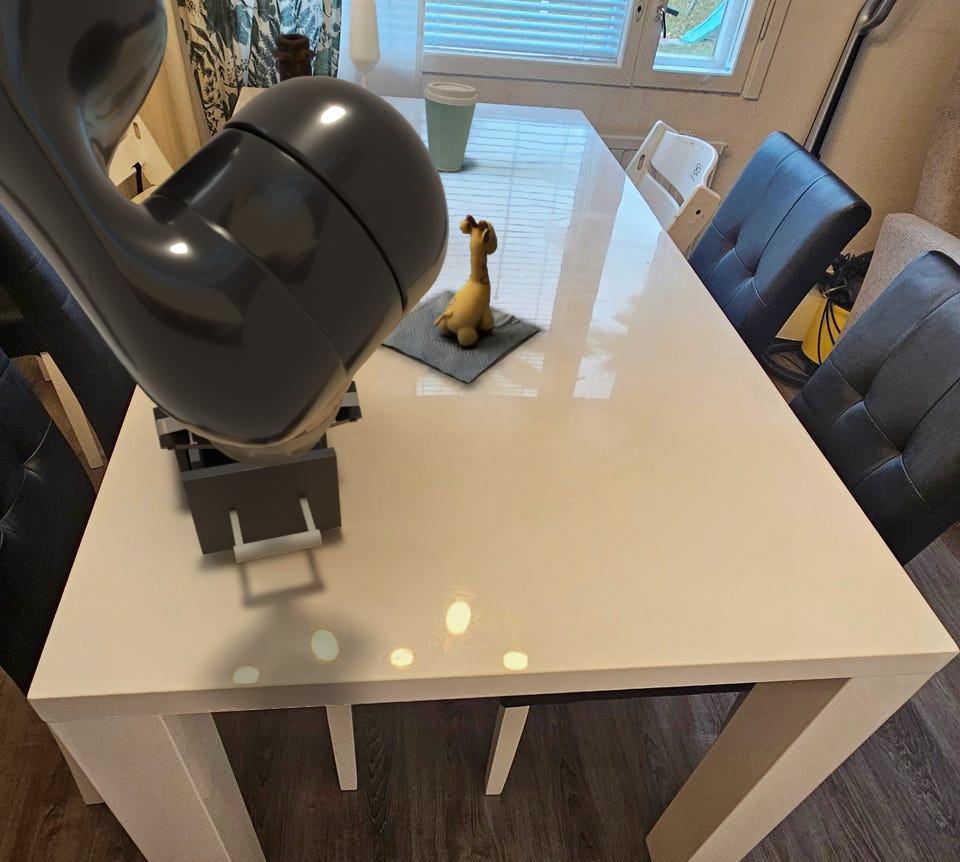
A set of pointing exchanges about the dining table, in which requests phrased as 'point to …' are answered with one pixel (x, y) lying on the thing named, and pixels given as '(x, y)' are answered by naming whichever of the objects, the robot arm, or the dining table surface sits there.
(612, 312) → the dining table surface
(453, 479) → the dining table surface
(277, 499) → the drawer
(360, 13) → the champagne flute
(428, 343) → the stuffed giraffe
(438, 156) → the disposable coffee cup
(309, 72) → the glass bottle
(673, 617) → the dining table surface
